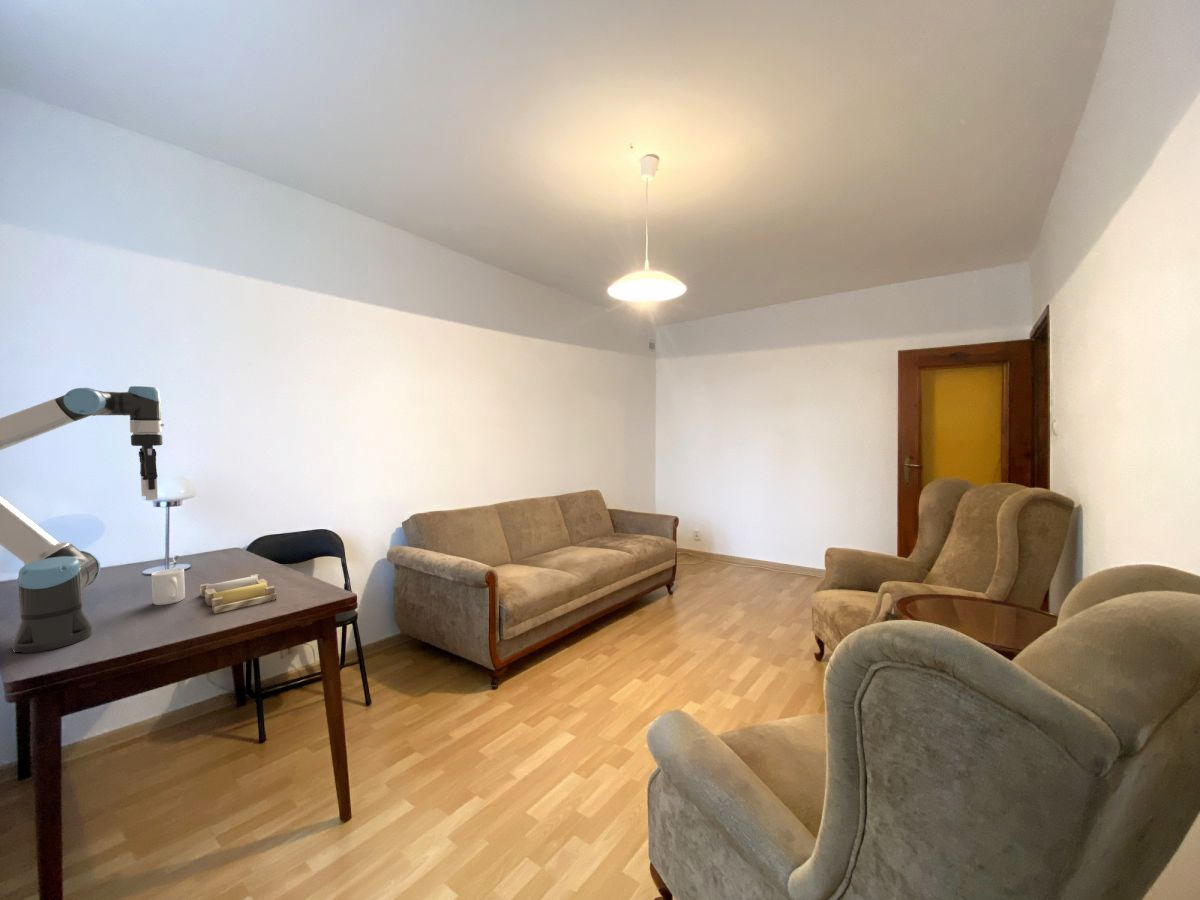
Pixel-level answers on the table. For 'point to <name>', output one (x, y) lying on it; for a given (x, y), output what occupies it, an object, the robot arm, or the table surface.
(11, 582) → the table surface
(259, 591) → the yellow cylinder
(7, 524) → the robot arm
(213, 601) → the wooden rack
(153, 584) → the mug
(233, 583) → the white cylinder
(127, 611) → the table surface
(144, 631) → the table surface
